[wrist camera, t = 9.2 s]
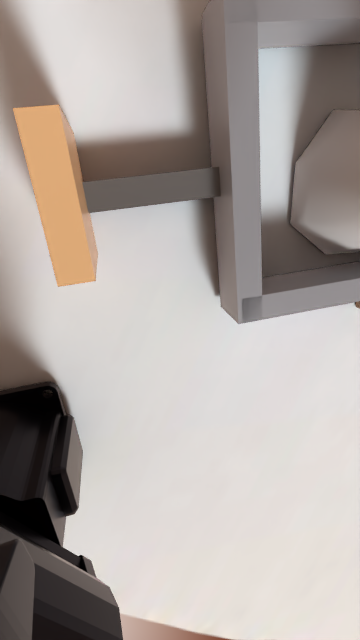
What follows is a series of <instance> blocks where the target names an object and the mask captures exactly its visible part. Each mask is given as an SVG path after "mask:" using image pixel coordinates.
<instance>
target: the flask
mask: <svg viewBox="0 0 360 640" xmlns="http://www.w3.org/2000/svg"><path fill="white" fill-rule="evenodd" d="M290 224H291V225H292V226H293V227H294V228H295V229H297V230H298V231H299V232H300V233H301V234H302V235H304V236H305V237H306V238H307V239H308V240H310V241H311V242H312V243H313V244H314V245H315V246H317V247H318V248H319V249H320V250H321V251H322V252H324V253H325V254H338V253H352V252H360V110H338V109H334V110H333V111H332V112H331V114H330V115H329V117H328V118H327V119H326V121H325V122H324V124H323V125H322V127H321V128H320V129H319V131H318V132H317V134H316V135H315V136H314V138H313V139H312V141H311V142H310V144H309V145H308V146H307V148H306V149H305V151H304V152H303V153H302V155H301V156H300V158H299V159H298V161H297V162H296V164H295V176H294V187H293V198H292V210H291V221H290Z"/></svg>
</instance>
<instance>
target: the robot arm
mask: <svg viewBox="0 0 360 640" xmlns="http://www.w3.org/2000/svg"><path fill="white" fill-rule="evenodd" d="M45 390H50V391H52V392H53V393H51V394H46V393H45V392H44V391H45ZM82 456H83V450H82V446H81V443H80V439H79V436H78V432H77V428H76V425H75V421H74V418H73V417H72V416H71V415H69V414H68V415H66V412H65V409H64V405H63V402H62V398H61V395H60V391H59V388H58V386H57V385H56V384H55V383H53V382H44V383H39V384H33V385H28V386H23V387H18V388H13V389H8V390H3V391H0V640H123V637H122V628H121V620H120V613H119V607H118V605H117V603H116V600H115V598H114V596H113V594H112V592H111V590H110V587H108V586H107V585H105V584H104V583H103V582H101V581H100V580H99V579H97V578H96V575H95V572H94V569H93V565H92V562H91V560H89V559H88V558H86V557H84V556H82V555H80V556H77V555H75V554H73V553H71V552H70V551H68V550H66V549H65V548H63V539H64V531H65V522H66V516H69V515H73V514H75V512H76V511H77V509H78V507H79V494H80V481H81V469H82Z"/></svg>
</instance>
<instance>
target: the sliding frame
mask: <svg viewBox="0 0 360 640" xmlns="http://www.w3.org/2000/svg"><path fill="white" fill-rule="evenodd" d="M202 30H203V45H204V60H205V75H206V90H207V105H208V120H209V135H210V150H211V166H212V168H204V169H195V170H186V171H177V172H168V173H159V174H151V175H142V176H133V177H124V178H115V179H106V180H97V181H88V182H83V177H82V172H81V167H80V162H79V157H78V152H77V147H76V142H75V137H74V133H73V131H72V129H71V127H70V125H69V123H68V121H67V119H66V118H65V116H64V114H63V112H62V110H61V108H60V106H59V105H47V106H34V107H21V108H13V111H14V115H15V119H16V123H17V127H18V131H19V135H20V139H21V143H22V147H23V151H24V154H25V158H26V162H27V166H28V170H29V174H30V178H31V182H32V186H33V190H34V194H35V198H36V202H37V206H38V210H39V214H40V218H41V222H42V225H43V229H44V233H45V237H46V241H47V245H48V249H49V253H50V257H51V261H52V265H53V269H54V273H55V277H56V281H57V285H58V287H59V286H66V285H72V284H79V283H85V282H91V281H96V269H97V257H98V252H97V247H96V242H95V237H94V232H93V227H92V222H91V217H90V213H92V212H100V211H108V210H116V209H124V208H132V207H140V206H148V205H156V204H164V203H172V202H179V201H187V200H195V199H203V198H211V197H214V211H215V226H216V241H217V256H218V271H219V286H220V302H221V307H222V308H223V309H224V310H225V311H226V312H227V313H228V314H229V315H230V316H231V317H232V318H233V319H234V320H235V321H236V322H237V323H238V324H241V323H246V322H252V321H257V320H262V319H268V318H273V317H278V316H284V315H289V314H294V313H300V312H305V311H310V310H316V309H321V308H326V307H332V306H337V305H342V304H348V303H353V302H358V301H360V261H359V262H353V263H348V264H342V265H336V266H330V267H324V268H318V269H312V270H306V271H300V272H294V273H288V274H282V275H276V276H270V277H264V278H262V255H261V196H260V137H259V78H258V49H262V48H279V47H296V46H314V45H331V44H348V43H360V0H210V1H209V3H208V5H207V6H206V8H205V10H204V12H203V13H202Z"/></svg>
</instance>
